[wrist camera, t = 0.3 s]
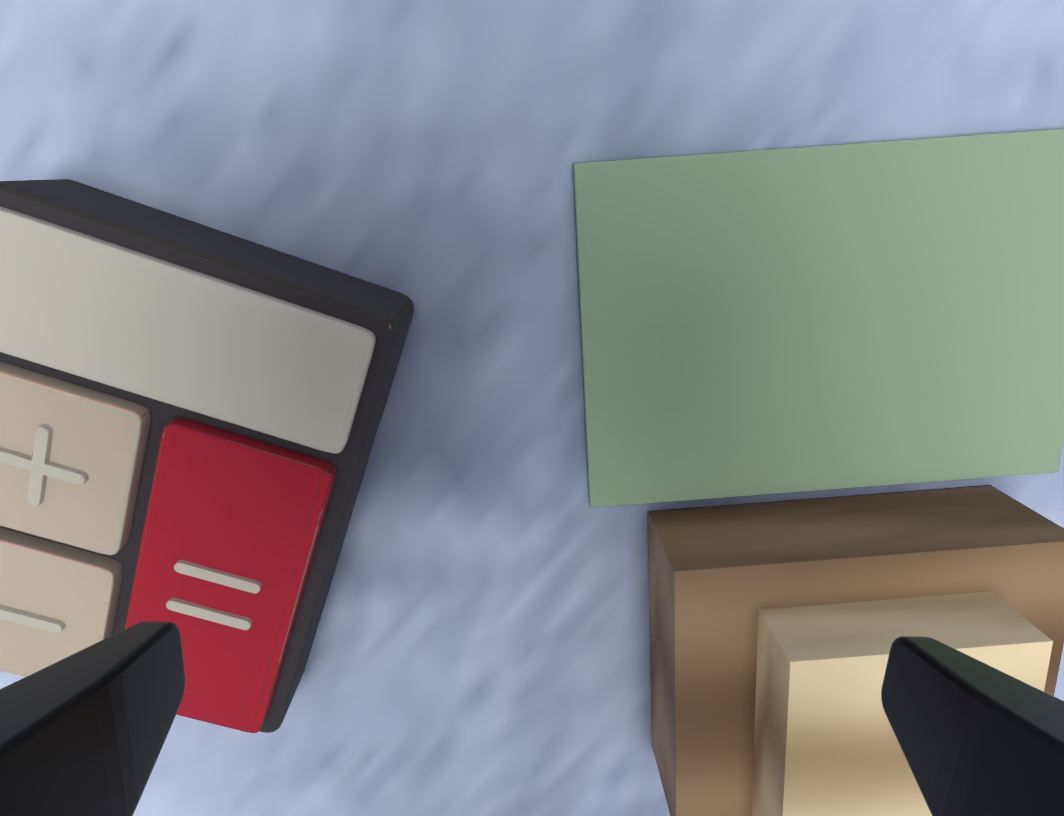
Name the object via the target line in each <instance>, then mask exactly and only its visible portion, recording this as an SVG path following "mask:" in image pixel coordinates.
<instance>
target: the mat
mask: <svg viewBox="0 0 1064 816" xmlns="http://www.w3.org/2000/svg"><path fill="white" fill-rule="evenodd" d="M573 168H574V190H575V211H576V232H577V253H578V275H579V296H580V317H581V338H582V359H583V381H584V402H585V423H586V444H587V466H588V487H589V504H590V507H591V508H594V507H607V506H621V505H634V504H647V503H660V502H673V501H686V500H699V499H712V498H725V497H738V496H751V495H764V494H778V493H791V492H804V491H817V490H830V489H843V488H856V487H869V486H882V485H895V484H908V483H922V482H935V481H948V480H961V479H974V478H987V477H1000V476H1013V475H1026V474H1039V473H1052V472H1058V471H1059V465H1060V459H1061V453H1062V447H1063V441H1064V129H1054V130H1040V131H1026V132H1011V133H997V134H983V135H969V136H954V137H940V138H926V139H911V140H897V141H883V142H869V143H854V144H840V145H826V146H812V147H797V148H783V149H769V150H755V151H740V152H726V153H712V154H698V155H683V156H669V157H655V158H641V159H626V160H612V161H598V162H584V163H574V164H573Z"/></svg>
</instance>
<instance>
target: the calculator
mask: <svg viewBox="0 0 1064 816" xmlns="http://www.w3.org/2000/svg"><path fill="white" fill-rule="evenodd" d="M412 315H413V304H412V301H411V300H410V299H409V298H408V297H407V296H406V295H404V294H402V293H399V292H396V291H393V290H390V289H388V288H385V287H382V286H379V285H376V284H373V283H370V282H367V281H364V280H361V279H358V278H355V277H353V276H350V275H347V274H344V273H341V272H338V271H335V270H332V269H329V268H326V267H323V266H321V265H318V264H315V263H312V262H309V261H306V260H303V259H300V258H297V257H294V256H291V255H288V254H286V253H283V252H280V251H277V250H274V249H271V248H268V247H265V246H262V245H259V244H256V243H253V242H251V241H248V240H245V239H242V238H239V237H236V236H233V235H230V234H227V233H224V232H221V231H219V230H216V229H213V228H210V227H207V226H204V225H201V224H198V223H195V222H192V221H189V220H186V219H184V218H181V217H178V216H175V215H172V214H169V213H166V212H163V211H160V210H157V209H154V208H151V207H149V206H146V205H143V204H140V203H137V202H134V201H131V200H128V199H125V198H122V197H119V196H116V195H114V194H111V193H108V192H105V191H102V190H99V189H96V188H93V187H90V186H87V185H84V184H81V183H78V182H75V181H72V180H65V179H62V180H26V181H0V670H1V671H5V672H9V673H13V674H17V675H21V676H25V677H27V676H29V675H31V674H33V673H35V672H37V671H39V670H41V669H43V668H46V667H48V666H50V665H52V664H54V663H56V662H58V661H60V660H62V659H64V658H66V657H68V656H70V655H72V654H74V653H77V652H79V651H81V650H83V649H85V648H87V647H89V646H91V645H93V644H95V643H97V642H99V641H101V640H103V639H105V638H107V637H110V636H112V635H114V634H116V633H118V632H120V631H122V630H124V629H126V628H128V627H130V626H132V625H134V624H136V623H139V622H143V621H157V622H173V623H175V624H176V625H177V626H178V628H179V630H180V633H181V641H182V650H183V659H184V668H185V678H186V684H185V692H184V696H183V699H182V702H181V704H180V706H179V709H178V711H177V713H176V714H177V715H181V716H185V717H189V718H193V719H197V720H201V721H205V722H209V723H213V724H217V725H221V726H225V727H229V728H233V729H237V730H241V731H245V732H250V733H257V732H259V731H261V732H268V733H269V732H274V731H276V730H277V729H278V728H279V727H280V725H281V724H282V722H283V719H284V717H285V715H286V712H287V710H288V708H289V705H290V703H291V701H292V698H293V696H294V694H295V691H296V689H297V687H298V684H299V682H300V679H301V677H302V674H303V672H304V669H305V666H306V663H307V659H308V656H309V653H310V650H311V646H312V643H313V640H314V636H315V633H316V630H317V627H318V623H319V620H320V617H321V613H322V610H323V607H324V604H325V600H326V597H327V594H328V590H329V587H330V584H331V580H332V577H333V574H334V570H335V567H336V564H337V560H338V557H339V554H340V550H341V547H342V544H343V540H344V537H345V534H346V530H347V527H348V524H349V520H350V517H351V514H352V510H353V507H354V504H355V500H356V497H357V494H358V490H359V487H360V484H361V480H362V477H363V474H364V470H365V467H366V464H367V460H368V457H369V454H370V451H371V447H372V444H373V441H374V437H375V434H376V431H377V428H378V425H379V423H380V420H381V417H382V414H383V411H384V407H385V404H386V401H387V398H388V394H389V391H390V388H391V385H392V381H393V378H394V375H395V371H396V368H397V365H398V362H399V358H400V355H401V352H402V348H403V345H404V342H405V339H406V335H407V332H408V329H409V325H410V322H411V319H412Z"/></svg>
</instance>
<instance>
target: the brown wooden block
mask: <svg viewBox="0 0 1064 816" xmlns="http://www.w3.org/2000/svg"><path fill="white" fill-rule="evenodd" d="M647 514H648V564H649V614H650V664H651V714H652V747H653V751H654V755H655V758H656V762H657V766H658V770H659V774H660V777H661V781H662V785H663V789H664V792H665V796H666V800H667V804H668V808H669V811H670V815H671V816H752V787H753V757H754V728H755V698H756V668H757V639H758V610H762V609H775V608H788V607H800V606H813V605H826V604H839V603H851V602H864V601H877V600H890V599H902V598H915V597H928V596H941V595H953V594H966V593H979V592H991V591H992V592H993V593H994V594H995V595H997V596H998V597H999V598H1000V599H1002V600H1003V601H1004V602H1005V603H1007V604H1008V605H1009V606H1010V607H1011V608H1013V609H1014V610H1015V611H1016V612H1018V613H1019V614H1020V615H1021V616H1023V617H1024V618H1025V619H1026V620H1028V621H1029V622H1030V623H1031V624H1033V625H1034V626H1035V627H1036V628H1037V629H1039V630H1040V631H1041V632H1042V633H1044V634H1045V635H1046V636H1047V637H1049V638H1050V639H1051V640H1052V641H1053V645H1052V650H1051V656H1050V661H1049V667H1048V672H1047V678H1046V683H1045V689H1044V692H1045V693H1047V694H1049V695H1052V696H1054V692H1055V686H1056V681H1057V676H1058V670H1059V665H1060V660H1061V654H1062V649H1063V644H1064V528H1062V527H1060V526H1059V525H1057V524H1055V523H1053V522H1052V521H1050V520H1048V519H1047V518H1045V517H1043V516H1042V515H1040V514H1038V513H1036V512H1035V511H1033V510H1031V509H1030V508H1028V507H1026V506H1025V505H1023V504H1021V503H1020V502H1018V501H1016V500H1014V499H1013V498H1011V497H1009V496H1008V495H1006V494H1004V493H1003V492H1001V491H999V490H997V489H996V488H994V487H992V486H991V485H988V486H975V487H962V488H949V489H936V490H923V491H910V492H897V493H884V494H871V495H858V496H845V497H831V498H818V499H805V500H792V501H779V502H766V503H753V504H740V505H727V506H714V507H701V508H688V509H675V510H662V511H649V512H647Z"/></svg>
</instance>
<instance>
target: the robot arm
mask: <svg viewBox="0 0 1064 816" xmlns="http://www.w3.org/2000/svg"><path fill="white" fill-rule="evenodd" d="M185 684H186V678H185V668H184V659H183V650H182V641H181V633H180V630H179V628H178V626H177V625H176V624H175V623H173V622H157V621H143V622H139V623H136V624H134V625H132V626H130V627H128V628H126V629H124V630H122V631H120V632H118V633H116V634H114V635H112V636H110V637H107V638H105V639H103V640H101V641H99V642H97V643H95V644H93V645H91V646H89V647H87V648H85V649H83V650H81V651H79V652H77V653H74V654H72V655H70V656H68V657H66V658H64V659H62V660H60V661H58V662H56V663H54V664H52V665H50V666H48V667H46V668H43V669H41V670H39V671H37V672H35V673H33V674H31V675H29V676H27V677H25V678H23V679H21V680H19V681H17V682H15V683H13V684H10V685H8V686H6V687H4V688H2V689H0V816H132V815H133V813H134V811H135V809H136V807H137V804H138V802H139V800H140V798H141V795H142V793H143V791H144V788H145V786H146V784H147V781H148V779H149V777H150V774H151V772H152V770H153V767H154V765H155V763H156V760H157V758H158V756H159V753H160V751H161V749H162V746H163V744H164V742H165V739H166V737H167V735H168V732H169V730H170V728H171V725H172V723H173V720H174V718H175V716H176V713H177V711H178V709H179V706H180V704H181V702H182V699H183V696H184V692H185ZM881 700H882V705H883V709H884V712H885V714H886V716H887V719H888V721H889V723H890V725H891V727H892V729H893V732H894V734H895V736H896V738H897V740H898V743H899V745H900V747H901V749H902V751H903V753H904V756H905V758H906V760H907V762H908V764H909V767H910V769H911V771H912V773H913V775H914V777H915V780H916V782H917V784H918V786H919V788H920V791H921V793H922V795H923V797H924V799H925V801H926V804H927V806H928V808H929V810H930V812H931V814H932V816H1064V701H1062V700H1060V699H1058V698H1056V697H1054V696H1052V695H1049V694H1047V693H1045V692H1043V691H1041V690H1039V689H1037V688H1035V687H1033V686H1031V685H1029V684H1027V683H1025V682H1022V681H1020V680H1018V679H1016V678H1014V677H1012V676H1010V675H1008V674H1006V673H1004V672H1002V671H1000V670H998V669H995V668H993V667H991V666H989V665H987V664H985V663H983V662H981V661H979V660H977V659H975V658H973V657H971V656H968V655H966V654H964V653H962V652H960V651H958V650H956V649H954V648H952V647H950V646H948V645H946V644H944V643H941V642H939V641H937V640H935V639H933V638H930V637H917V636H901V637H898V638H896V639H895V640H894V641H893V643H892V645H891V648H890V652H889V657H888V661H887V666H886V670H885V675H884V680H883V684H882V689H881Z"/></svg>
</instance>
